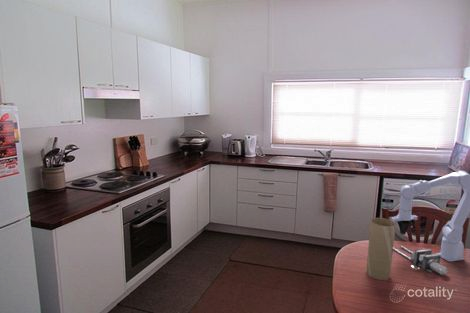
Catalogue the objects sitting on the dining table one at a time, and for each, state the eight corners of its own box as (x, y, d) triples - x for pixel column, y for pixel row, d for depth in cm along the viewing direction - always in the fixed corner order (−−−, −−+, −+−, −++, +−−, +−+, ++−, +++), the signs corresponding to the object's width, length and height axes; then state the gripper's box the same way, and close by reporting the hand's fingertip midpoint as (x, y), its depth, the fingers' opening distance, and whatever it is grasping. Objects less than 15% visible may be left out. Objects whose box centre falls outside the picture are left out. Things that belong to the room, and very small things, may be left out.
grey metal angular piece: (403, 247, 171) (404, 235, 170) (444, 271, 148) (446, 258, 146) (384, 249, 168) (385, 237, 167) (423, 274, 145) (424, 261, 143)
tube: (362, 273, 145) (367, 222, 140) (370, 265, 152) (375, 216, 148) (385, 282, 138) (391, 228, 134) (393, 273, 146) (398, 221, 141)
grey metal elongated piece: (410, 259, 158) (411, 251, 158) (416, 258, 160) (417, 250, 159) (440, 276, 144) (441, 268, 143) (447, 274, 145) (448, 266, 144)
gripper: (410, 205, 169) (408, 229, 171) (387, 207, 165) (385, 232, 168) (421, 209, 162) (418, 234, 165) (398, 212, 158) (395, 237, 161)
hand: (402, 233), depth 166 cm, fingers closed
